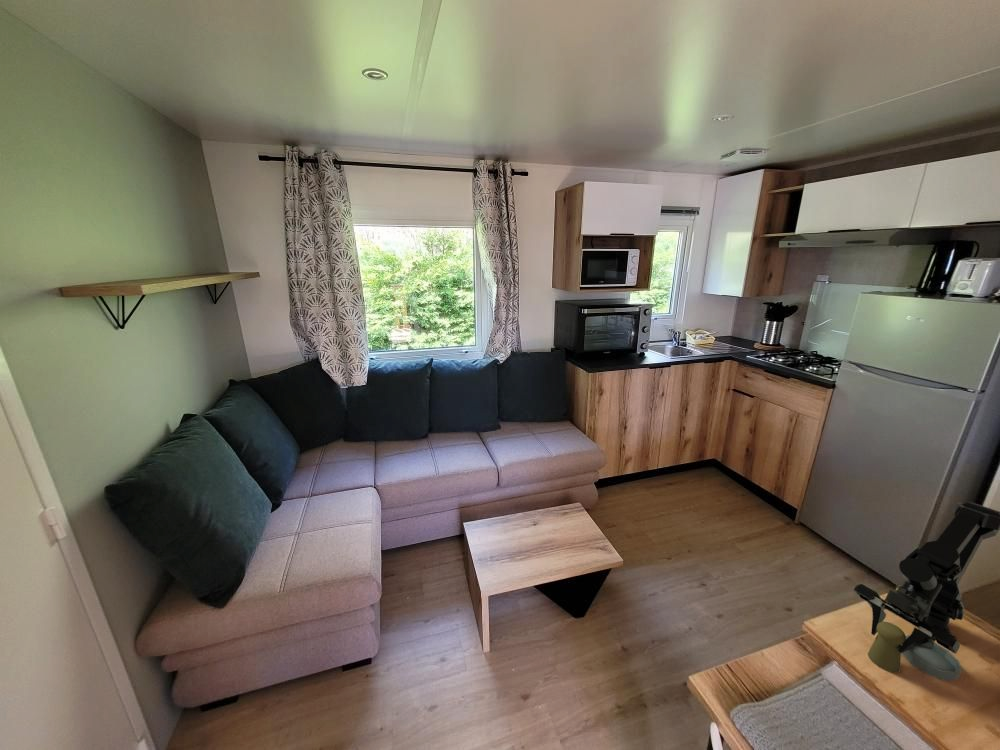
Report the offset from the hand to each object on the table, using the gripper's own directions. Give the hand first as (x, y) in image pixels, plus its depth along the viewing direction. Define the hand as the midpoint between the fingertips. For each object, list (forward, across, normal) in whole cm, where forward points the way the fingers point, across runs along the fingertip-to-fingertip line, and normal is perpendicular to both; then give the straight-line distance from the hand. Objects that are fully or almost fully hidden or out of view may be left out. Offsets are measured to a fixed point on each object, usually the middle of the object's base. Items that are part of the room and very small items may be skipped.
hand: (885, 643), depth 96 cm
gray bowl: (-4, +5, +13) cm, 14 cm away
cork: (+4, 0, +6) cm, 7 cm away
